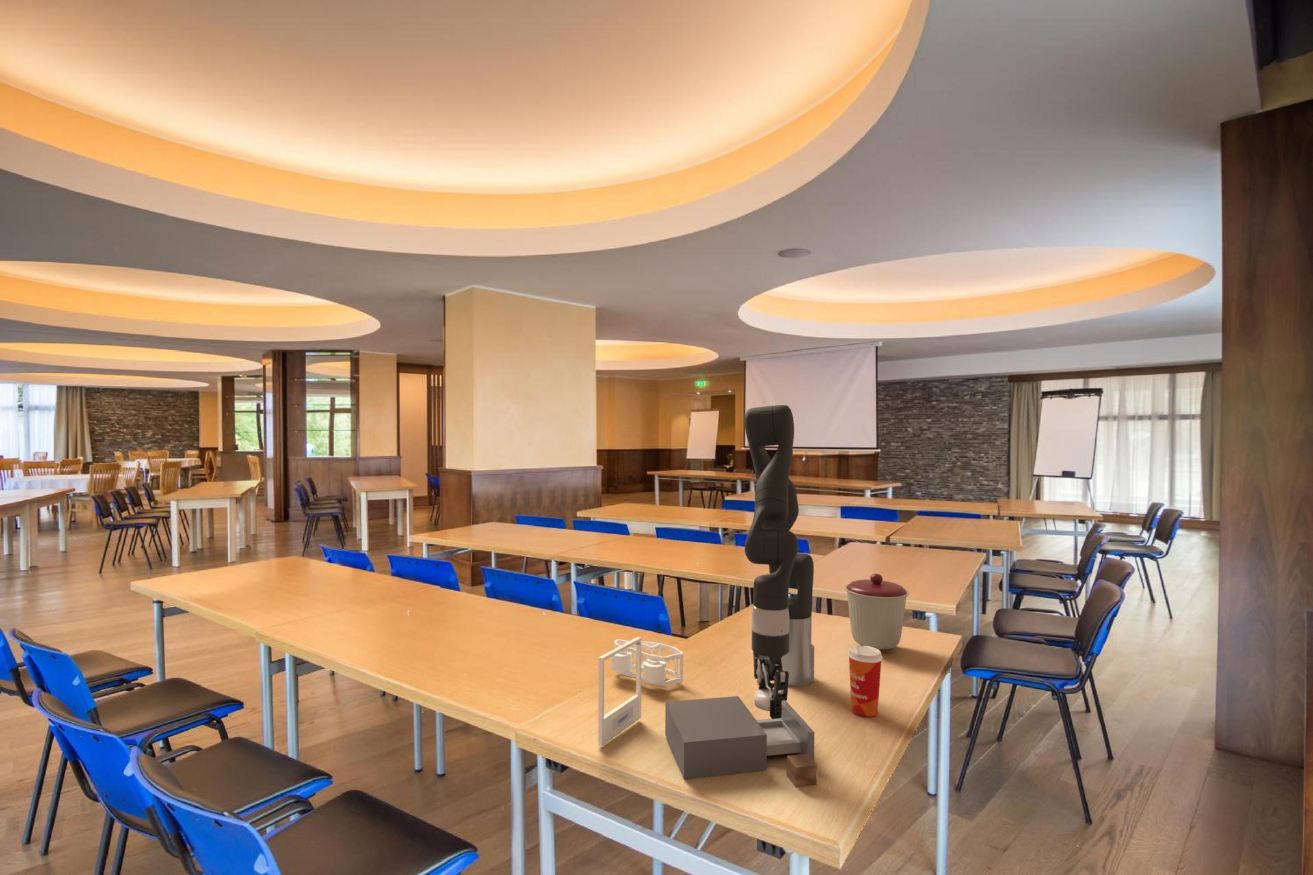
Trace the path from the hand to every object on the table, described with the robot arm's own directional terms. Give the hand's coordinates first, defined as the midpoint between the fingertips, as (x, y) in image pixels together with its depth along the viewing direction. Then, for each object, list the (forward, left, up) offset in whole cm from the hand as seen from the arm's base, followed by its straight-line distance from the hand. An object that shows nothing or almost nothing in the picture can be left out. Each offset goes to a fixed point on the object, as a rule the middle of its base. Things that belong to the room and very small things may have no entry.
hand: (769, 710), depth 126 cm
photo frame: (+29, -12, -8) cm, 32 cm away
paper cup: (-27, -11, -8) cm, 30 cm away
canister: (-53, -51, -8) cm, 74 cm away
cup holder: (+19, -40, -8) cm, 45 cm away
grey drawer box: (+12, 0, -7) cm, 14 cm away
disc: (0, 0, +1) cm, 1 cm away
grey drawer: (+4, 0, -7) cm, 8 cm away
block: (-1, +13, -7) cm, 15 cm away
